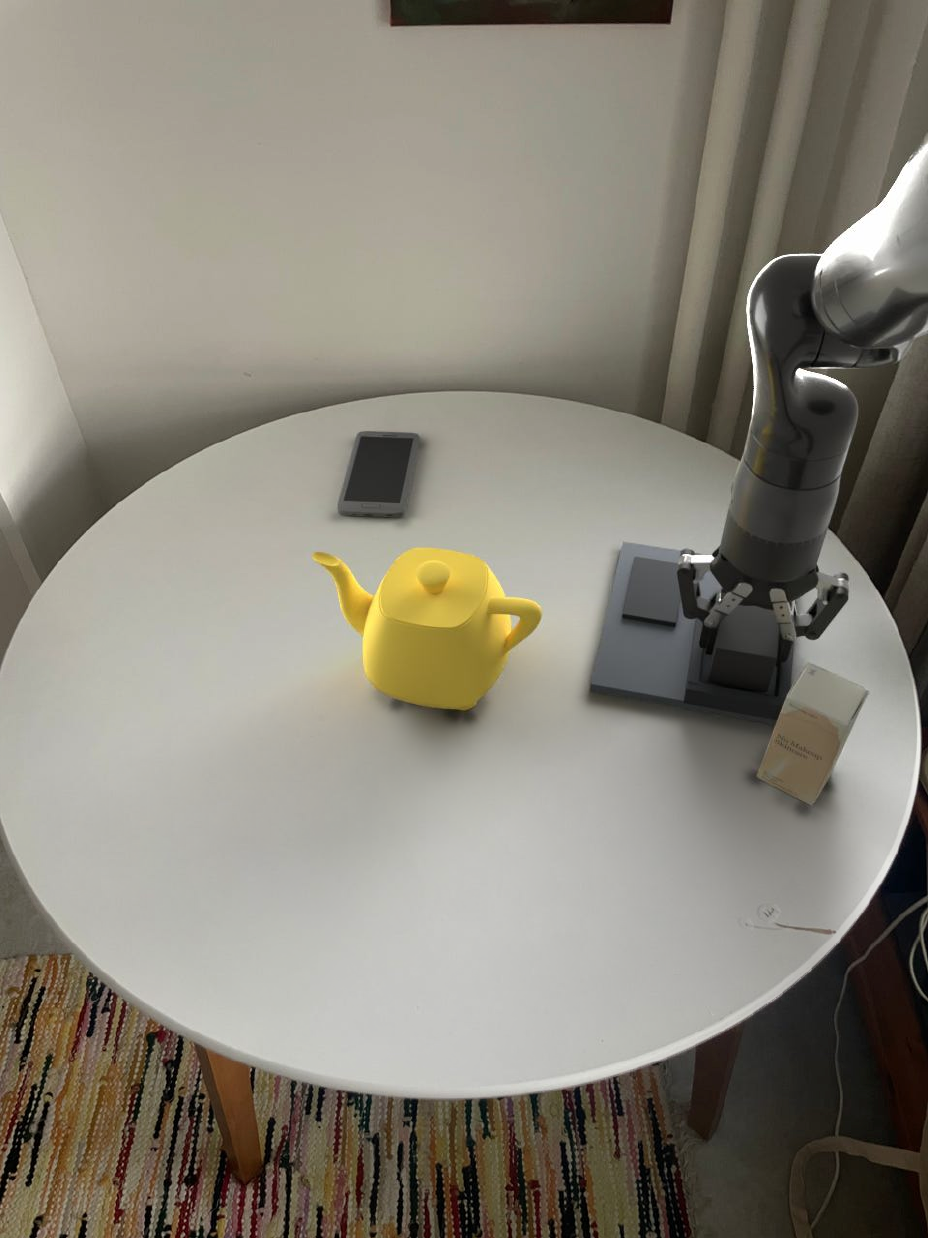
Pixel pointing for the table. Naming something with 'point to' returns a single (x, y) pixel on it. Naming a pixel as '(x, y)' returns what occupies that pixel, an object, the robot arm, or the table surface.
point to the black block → (745, 649)
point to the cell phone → (379, 474)
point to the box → (811, 732)
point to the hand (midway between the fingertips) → (741, 652)
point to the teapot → (433, 626)
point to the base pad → (669, 644)
